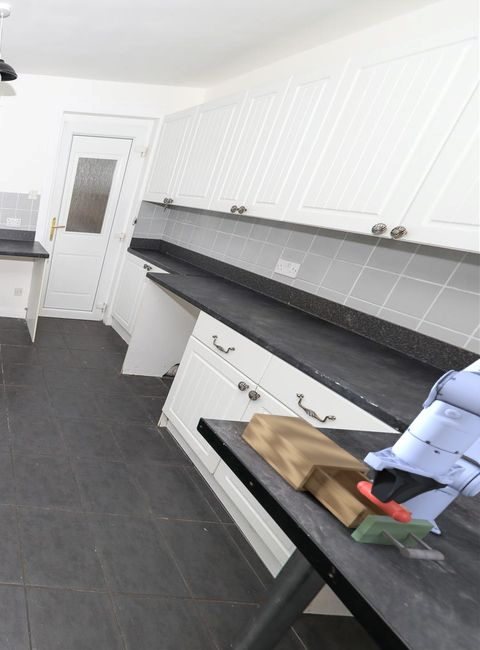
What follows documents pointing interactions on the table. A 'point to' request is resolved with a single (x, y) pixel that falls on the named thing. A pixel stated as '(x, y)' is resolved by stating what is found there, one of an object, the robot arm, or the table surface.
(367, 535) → the drawer
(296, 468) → the cabinet
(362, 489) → the sausage
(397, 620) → the table surface
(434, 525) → the robot arm
